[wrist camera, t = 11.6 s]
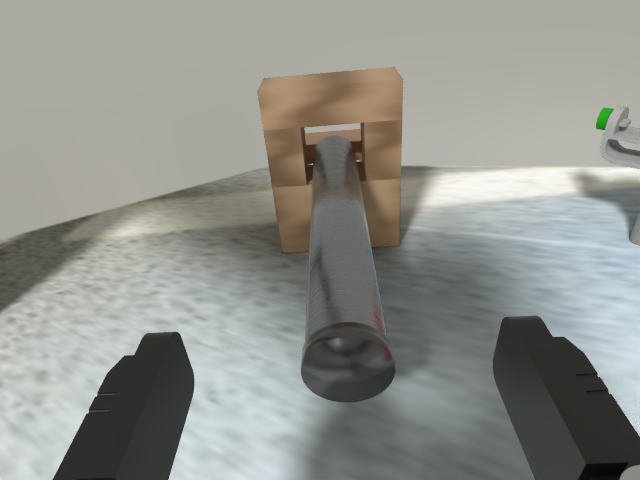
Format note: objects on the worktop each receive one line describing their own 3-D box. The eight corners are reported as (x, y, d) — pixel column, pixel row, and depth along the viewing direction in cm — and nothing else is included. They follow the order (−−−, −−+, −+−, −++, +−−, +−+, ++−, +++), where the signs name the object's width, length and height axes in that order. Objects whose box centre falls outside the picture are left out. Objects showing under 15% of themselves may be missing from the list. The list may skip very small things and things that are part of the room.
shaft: (394, 400, 16) (396, 335, 15) (306, 404, 16) (296, 341, 15) (356, 173, 34) (355, 132, 32) (314, 177, 34) (310, 135, 33)
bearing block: (282, 253, 37) (257, 90, 30) (285, 229, 40) (264, 78, 33) (399, 245, 36) (402, 78, 29) (392, 221, 40) (394, 67, 32)
